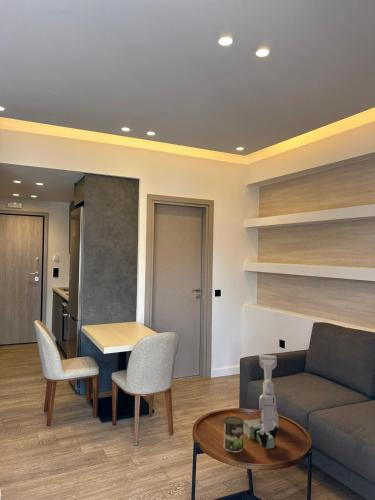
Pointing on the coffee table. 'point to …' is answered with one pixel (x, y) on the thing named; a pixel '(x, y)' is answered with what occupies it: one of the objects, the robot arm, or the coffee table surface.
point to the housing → (252, 427)
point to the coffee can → (233, 434)
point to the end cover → (269, 442)
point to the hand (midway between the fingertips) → (268, 444)
